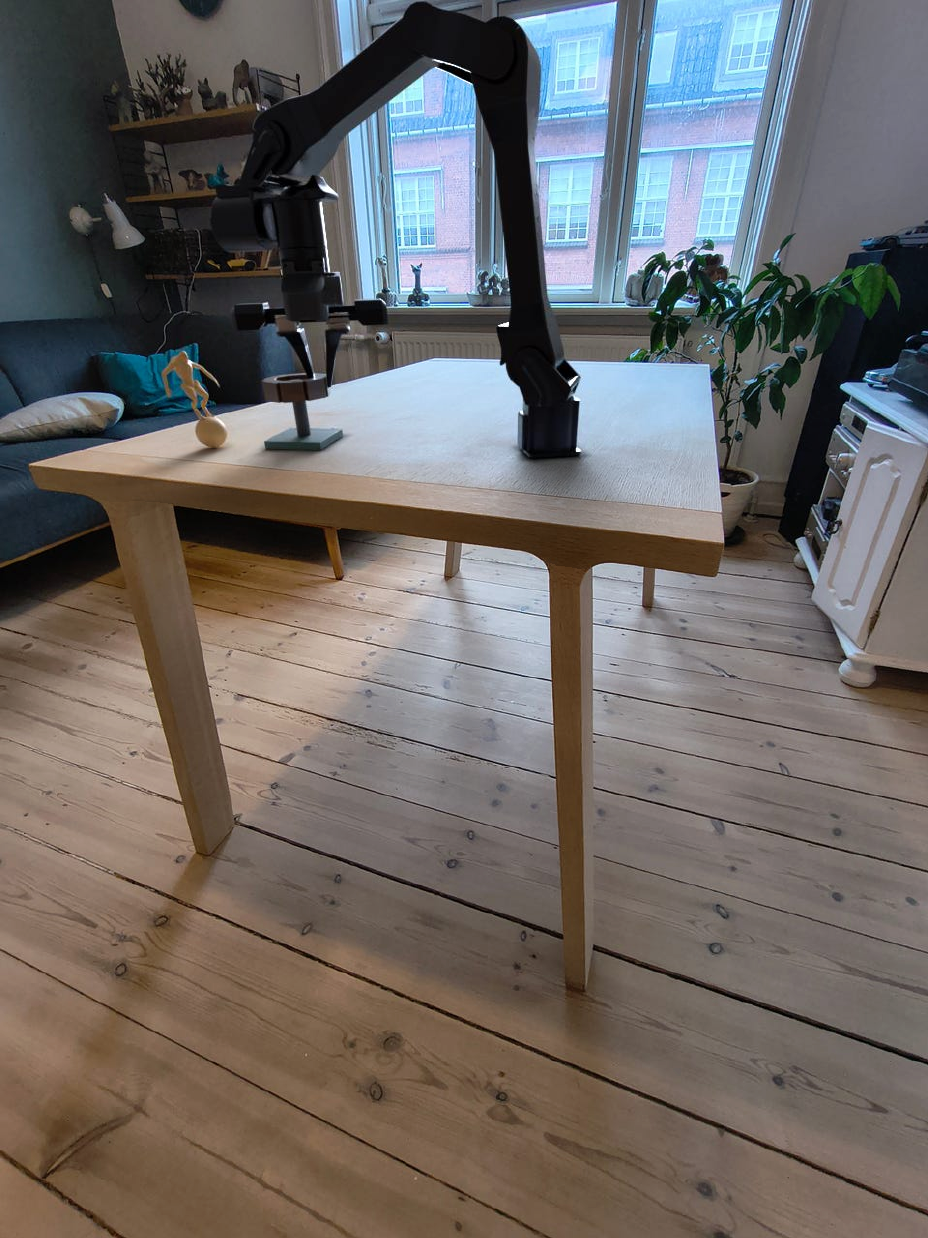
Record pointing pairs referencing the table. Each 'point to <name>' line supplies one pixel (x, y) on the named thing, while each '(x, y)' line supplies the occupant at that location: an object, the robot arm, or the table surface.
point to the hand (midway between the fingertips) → (322, 387)
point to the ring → (295, 388)
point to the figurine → (208, 427)
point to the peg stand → (303, 433)
